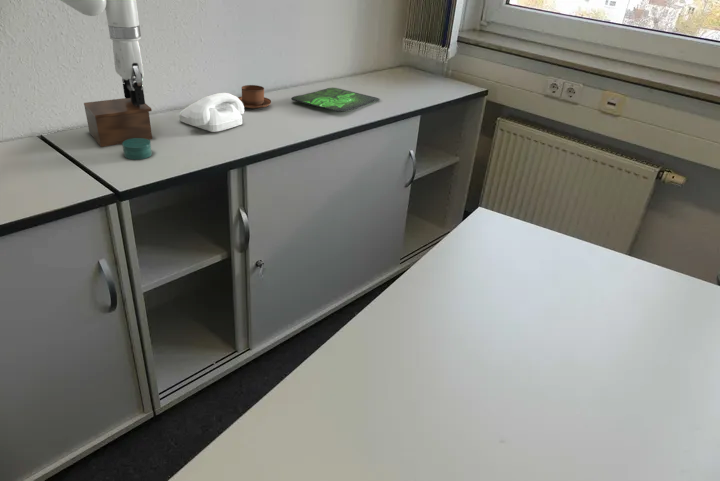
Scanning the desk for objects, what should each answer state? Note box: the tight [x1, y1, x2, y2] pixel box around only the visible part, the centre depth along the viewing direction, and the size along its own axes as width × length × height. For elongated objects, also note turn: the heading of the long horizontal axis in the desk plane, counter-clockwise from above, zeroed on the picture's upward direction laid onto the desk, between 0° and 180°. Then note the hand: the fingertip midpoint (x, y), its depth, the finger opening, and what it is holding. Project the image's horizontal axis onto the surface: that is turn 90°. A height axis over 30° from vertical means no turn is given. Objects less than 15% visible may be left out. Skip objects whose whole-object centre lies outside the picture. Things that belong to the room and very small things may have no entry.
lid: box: [83, 83, 153, 118], centre depth 146 cm, size 14×12×6 cm
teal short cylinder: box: [121, 138, 153, 161], centre depth 140 cm, size 7×7×3 cm
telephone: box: [178, 92, 245, 133], centre depth 163 cm, size 16×20×9 cm
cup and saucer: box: [237, 84, 272, 110], centre depth 180 cm, size 12×12×6 cm
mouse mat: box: [290, 87, 381, 113], centre depth 192 cm, size 27×22×1 cm
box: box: [84, 106, 153, 148], centre depth 149 cm, size 14×12×8 cm
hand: (134, 100), depth 149 cm, fingers closed on lid, 6 cm apart
